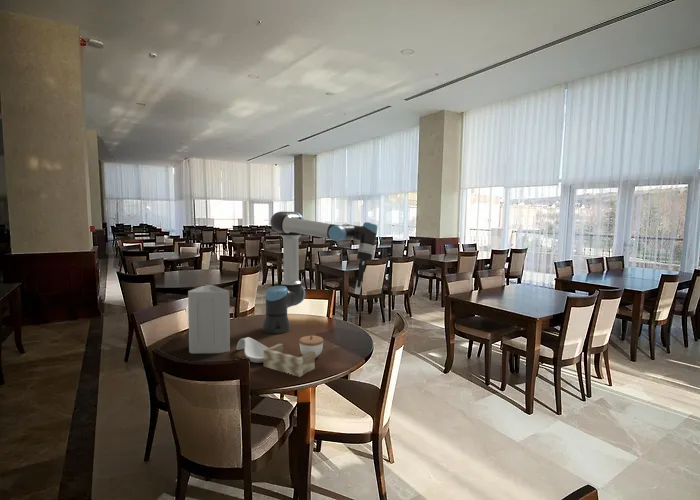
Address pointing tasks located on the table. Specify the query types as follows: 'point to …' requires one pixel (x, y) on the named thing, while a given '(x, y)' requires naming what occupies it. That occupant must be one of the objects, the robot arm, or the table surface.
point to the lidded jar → (311, 344)
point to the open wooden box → (288, 361)
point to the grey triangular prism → (209, 320)
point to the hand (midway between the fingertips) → (356, 294)
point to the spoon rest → (252, 349)
